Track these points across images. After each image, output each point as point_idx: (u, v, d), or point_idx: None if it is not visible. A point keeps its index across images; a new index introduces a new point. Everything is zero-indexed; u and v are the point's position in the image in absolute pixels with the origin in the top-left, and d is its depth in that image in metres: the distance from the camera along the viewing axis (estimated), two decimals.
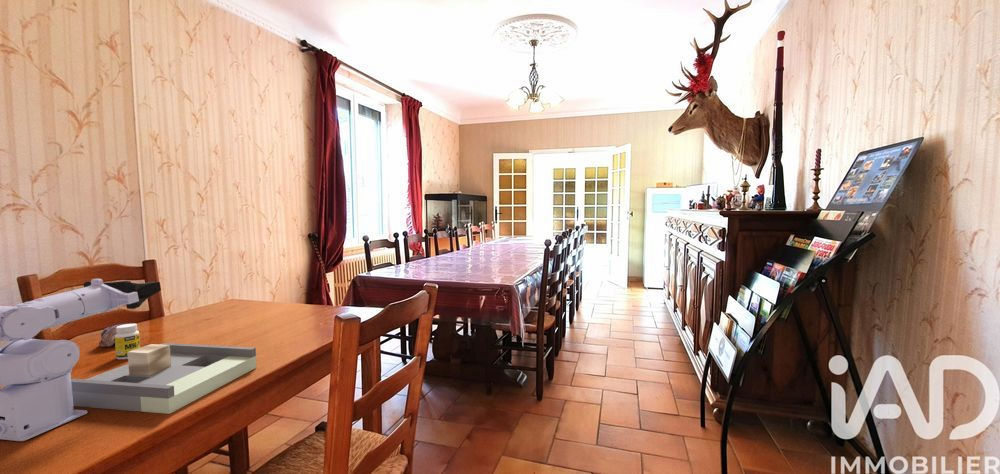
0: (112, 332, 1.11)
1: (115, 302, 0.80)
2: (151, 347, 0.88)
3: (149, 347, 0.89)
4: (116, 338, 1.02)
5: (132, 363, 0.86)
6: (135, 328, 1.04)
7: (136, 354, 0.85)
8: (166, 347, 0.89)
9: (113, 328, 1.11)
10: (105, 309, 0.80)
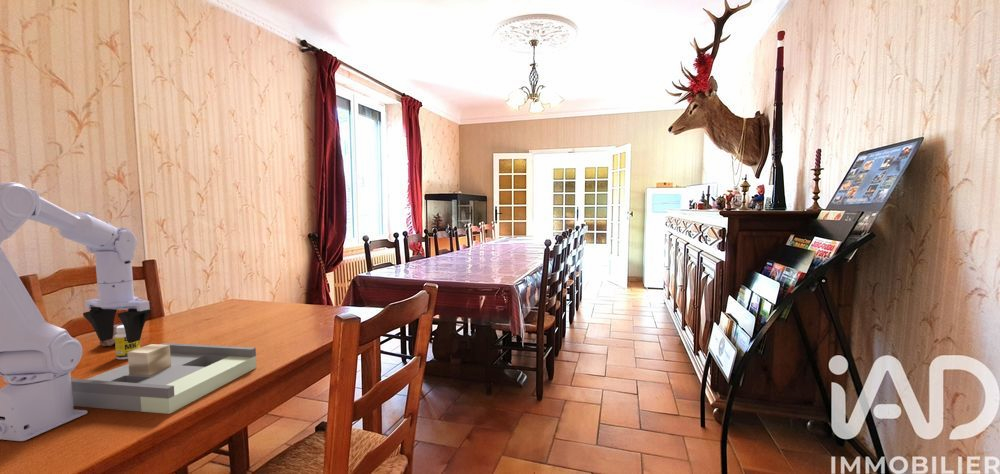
0: (113, 331, 1.11)
1: None
2: (151, 347, 0.88)
3: (149, 347, 0.89)
4: (116, 338, 1.02)
5: (132, 363, 0.86)
6: None
7: (136, 354, 0.85)
8: (166, 347, 0.89)
9: (114, 327, 1.12)
10: (113, 301, 0.86)
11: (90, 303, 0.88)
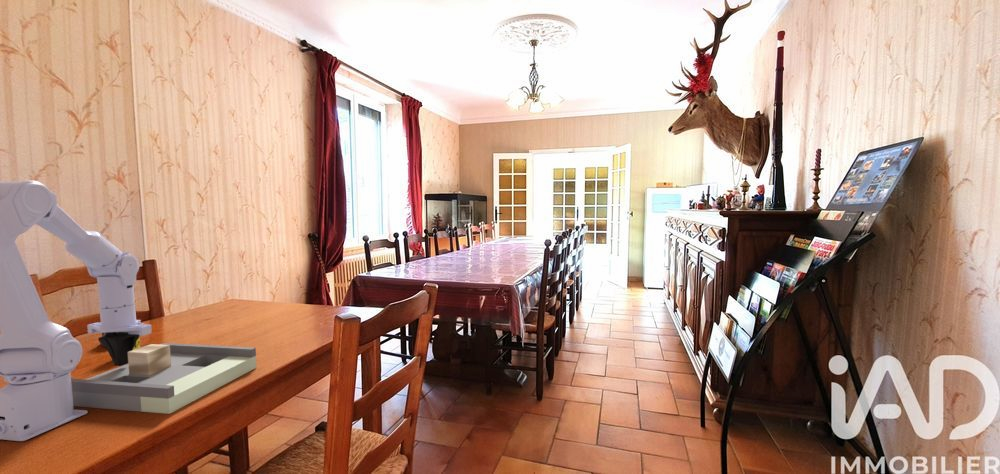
0: None
1: None
2: (151, 347, 0.88)
3: (149, 347, 0.89)
4: None
5: (132, 363, 0.86)
6: None
7: (136, 354, 0.85)
8: (166, 347, 0.89)
9: None
10: (115, 326, 0.86)
11: (92, 327, 0.88)
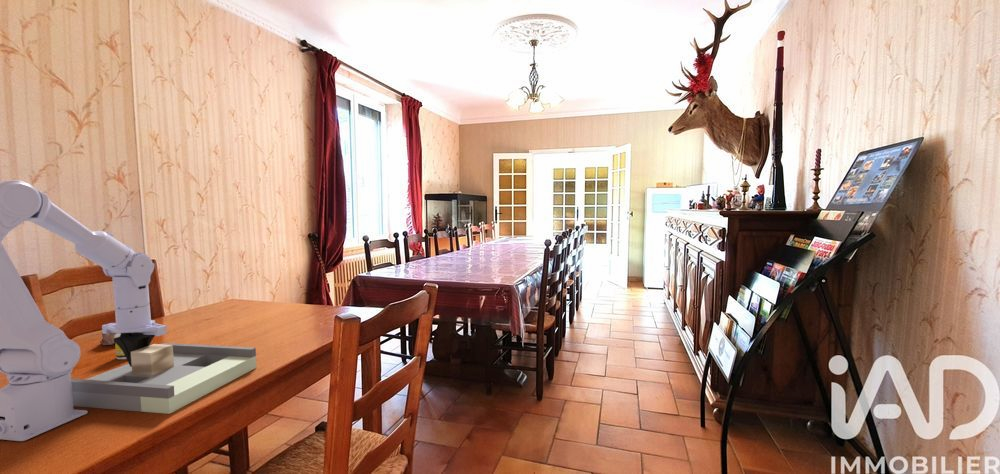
0: None
1: None
2: (154, 347, 0.88)
3: (152, 347, 0.88)
4: None
5: (135, 363, 0.86)
6: None
7: (139, 354, 0.85)
8: (169, 347, 0.89)
9: None
10: (130, 326, 0.86)
11: (107, 328, 0.88)
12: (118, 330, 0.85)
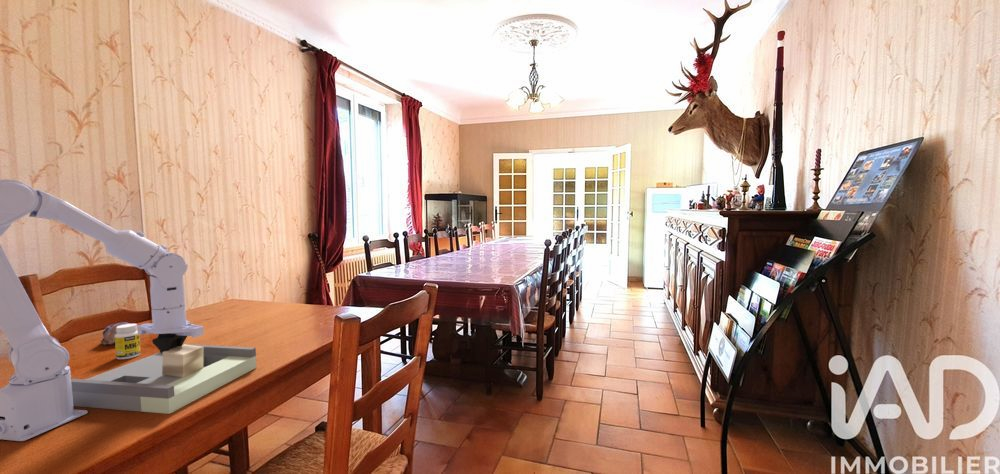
0: (115, 330, 1.13)
1: None
2: (185, 348, 0.87)
3: (183, 348, 0.87)
4: (116, 338, 1.02)
5: (167, 364, 0.85)
6: (135, 328, 1.04)
7: (171, 355, 0.84)
8: (200, 349, 0.88)
9: (115, 326, 1.13)
10: (167, 327, 0.84)
11: (143, 328, 0.86)
12: (155, 331, 0.84)
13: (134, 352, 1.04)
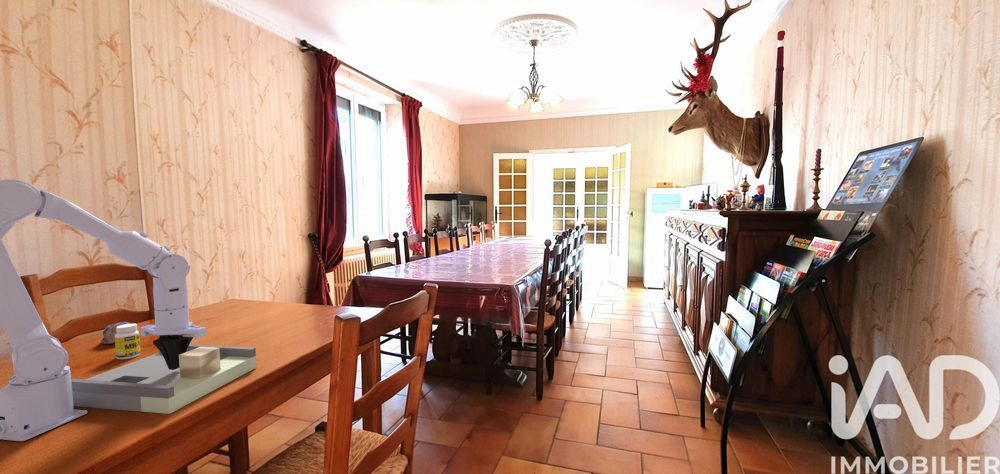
0: (115, 329, 1.13)
1: None
2: (201, 350, 0.87)
3: (199, 350, 0.87)
4: (116, 338, 1.02)
5: (184, 367, 0.84)
6: (135, 328, 1.04)
7: (188, 357, 0.84)
8: (216, 350, 0.87)
9: (116, 326, 1.14)
10: (170, 328, 0.84)
11: (146, 330, 0.86)
12: (158, 332, 0.84)
13: (133, 352, 1.04)
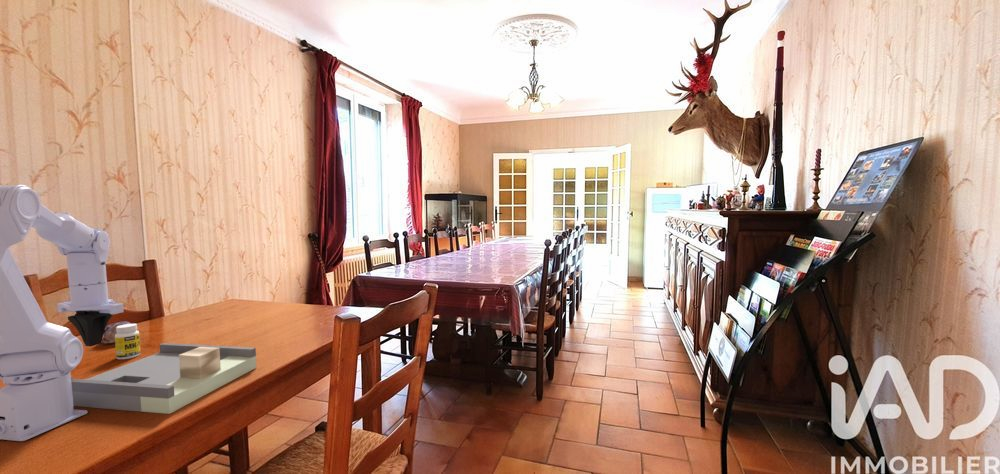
0: (115, 329, 1.14)
1: None
2: (201, 350, 0.87)
3: (199, 350, 0.87)
4: (116, 338, 1.02)
5: (184, 367, 0.84)
6: (135, 328, 1.04)
7: (188, 357, 0.84)
8: (216, 350, 0.87)
9: (116, 325, 1.14)
10: (85, 304, 0.83)
11: (62, 306, 0.85)
12: (72, 308, 0.83)
13: (134, 352, 1.04)
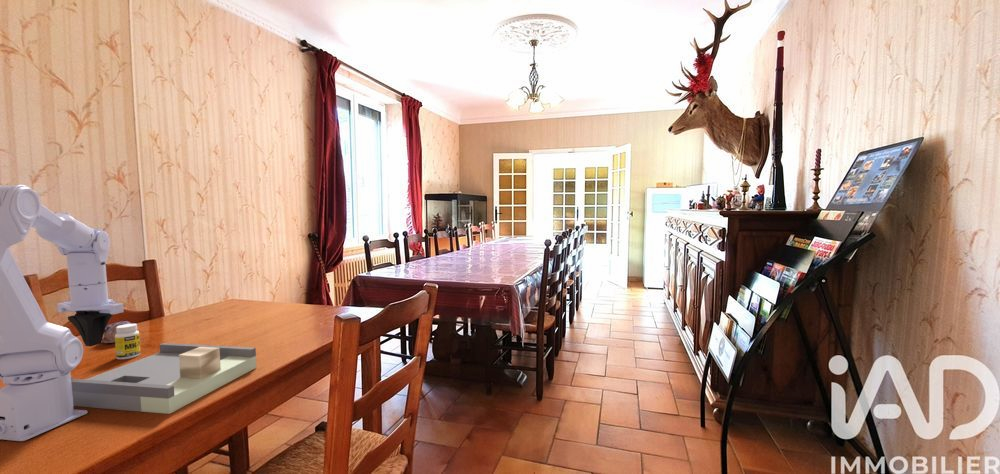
0: None
1: None
2: (201, 350, 0.87)
3: (199, 350, 0.87)
4: (116, 338, 1.02)
5: (184, 367, 0.84)
6: (135, 328, 1.04)
7: (188, 357, 0.84)
8: (216, 350, 0.87)
9: (116, 325, 1.14)
10: (85, 304, 0.83)
11: (62, 306, 0.85)
12: (72, 308, 0.83)
13: (134, 352, 1.04)
